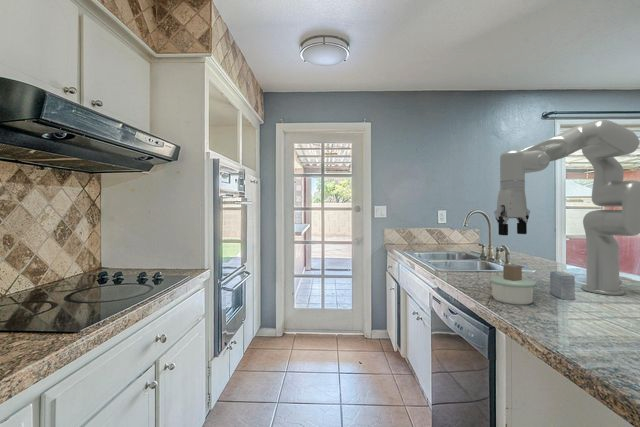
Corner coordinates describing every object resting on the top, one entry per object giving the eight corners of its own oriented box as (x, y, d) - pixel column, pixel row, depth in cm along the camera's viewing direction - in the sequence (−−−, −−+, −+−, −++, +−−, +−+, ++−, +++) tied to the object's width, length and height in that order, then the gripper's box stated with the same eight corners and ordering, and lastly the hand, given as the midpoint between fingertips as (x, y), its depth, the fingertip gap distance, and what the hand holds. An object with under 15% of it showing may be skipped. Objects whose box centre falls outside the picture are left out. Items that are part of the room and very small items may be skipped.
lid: (507, 277, 122) (507, 261, 122) (545, 285, 109) (545, 267, 109) (481, 280, 116) (481, 264, 116) (518, 289, 103) (518, 270, 103)
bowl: (507, 293, 120) (507, 278, 120) (540, 302, 109) (540, 284, 109) (485, 297, 116) (485, 281, 116) (517, 306, 105) (517, 288, 105)
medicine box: (575, 300, 112) (575, 275, 112) (561, 299, 113) (561, 275, 112) (563, 294, 119) (563, 271, 119) (549, 293, 120) (549, 271, 120)
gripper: (518, 187, 119) (518, 233, 119) (485, 186, 112) (486, 234, 112) (538, 186, 112) (539, 234, 112) (505, 185, 105) (505, 236, 106)
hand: (512, 234), depth 112 cm, fingers open, 9 cm apart
